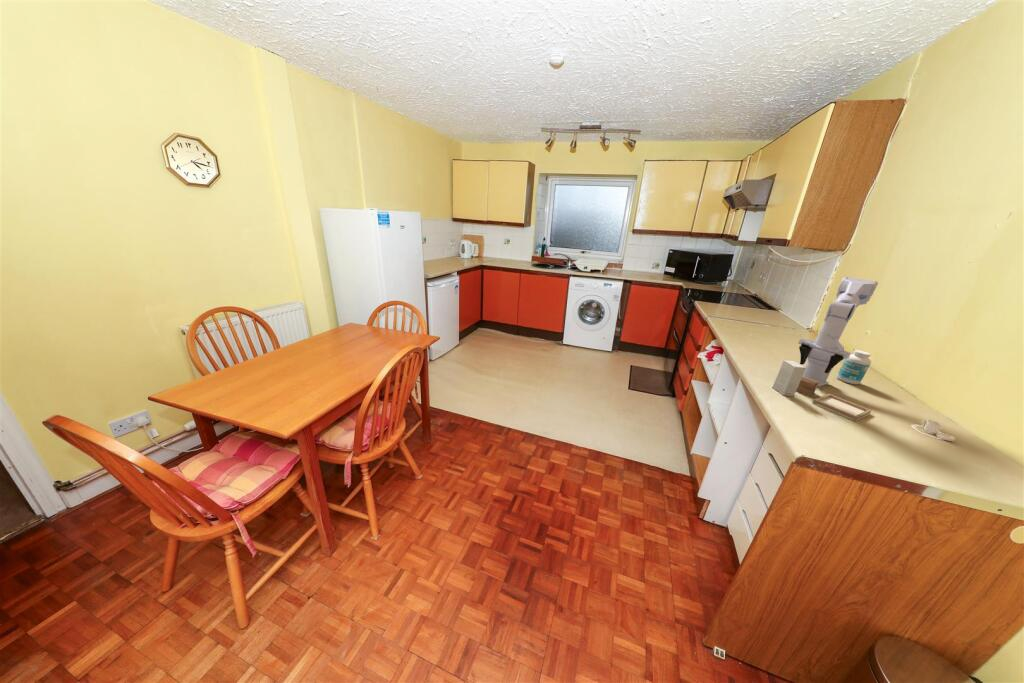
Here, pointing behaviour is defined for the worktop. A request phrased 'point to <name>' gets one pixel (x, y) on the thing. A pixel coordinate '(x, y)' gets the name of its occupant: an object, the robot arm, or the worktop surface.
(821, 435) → the worktop surface
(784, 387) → the skincare box
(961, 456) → the worktop surface
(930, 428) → the teacup and saucer
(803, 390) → the cube
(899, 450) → the worktop surface
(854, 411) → the tray
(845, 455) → the worktop surface
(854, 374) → the pill bottle
